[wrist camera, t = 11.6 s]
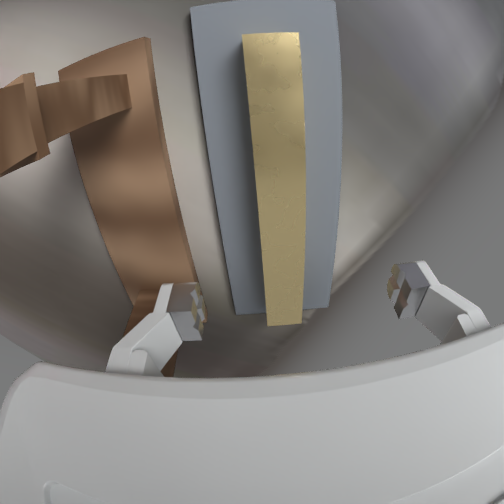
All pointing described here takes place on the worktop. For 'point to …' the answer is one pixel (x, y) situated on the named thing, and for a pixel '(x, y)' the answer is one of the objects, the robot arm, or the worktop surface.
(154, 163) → the stand
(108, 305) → the worktop surface
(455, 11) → the worktop surface
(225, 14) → the slate mat
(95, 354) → the worktop surface
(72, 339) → the worktop surface
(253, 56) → the brass rail
